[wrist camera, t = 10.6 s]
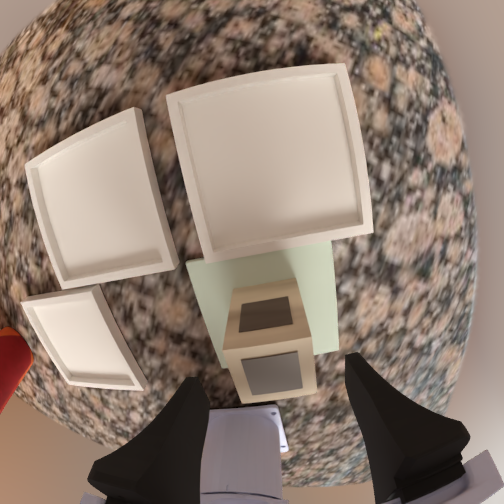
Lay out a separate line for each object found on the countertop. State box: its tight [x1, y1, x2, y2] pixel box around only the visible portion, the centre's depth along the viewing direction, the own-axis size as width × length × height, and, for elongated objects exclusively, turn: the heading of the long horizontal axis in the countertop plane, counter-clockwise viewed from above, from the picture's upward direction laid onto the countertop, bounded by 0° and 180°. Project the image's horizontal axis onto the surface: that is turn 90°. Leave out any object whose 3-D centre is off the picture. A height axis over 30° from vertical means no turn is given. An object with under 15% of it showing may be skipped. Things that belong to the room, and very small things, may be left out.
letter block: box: [222, 278, 317, 404], centre depth 15 cm, size 4×4×6 cm
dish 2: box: [21, 284, 148, 391], centre depth 20 cm, size 10×10×1 cm
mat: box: [186, 241, 339, 369], centre depth 18 cm, size 9×9×1 cm
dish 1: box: [25, 107, 180, 290], centre depth 15 cm, size 10×10×1 cm
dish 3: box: [166, 63, 373, 264], centre depth 14 cm, size 10×10×1 cm
